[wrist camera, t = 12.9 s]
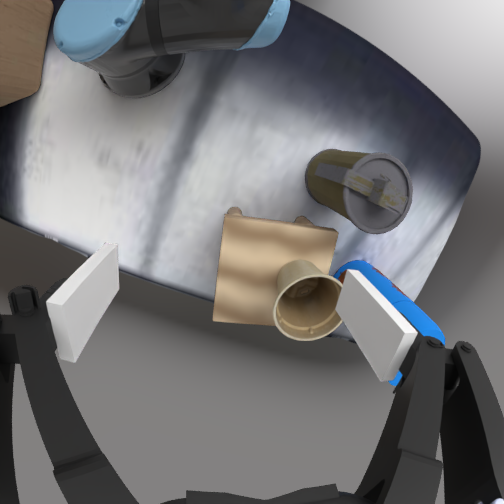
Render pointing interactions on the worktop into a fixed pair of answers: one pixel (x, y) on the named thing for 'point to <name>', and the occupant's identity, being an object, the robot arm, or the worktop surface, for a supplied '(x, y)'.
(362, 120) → the worktop surface
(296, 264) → the flower pot
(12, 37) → the block
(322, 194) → the canister
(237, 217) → the footstool
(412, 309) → the thermos
